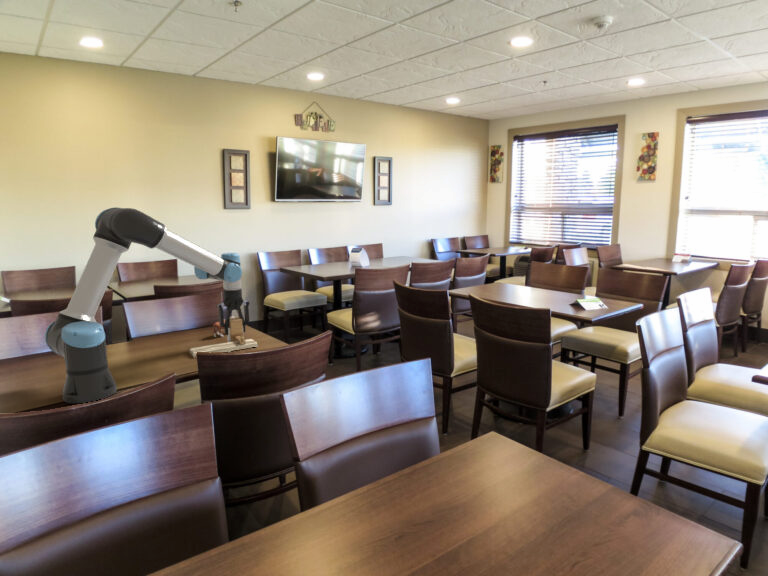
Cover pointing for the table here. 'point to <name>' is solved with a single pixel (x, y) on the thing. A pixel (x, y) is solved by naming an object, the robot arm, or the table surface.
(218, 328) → the bull figurine
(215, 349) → the board
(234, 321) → the tan boxy piece
